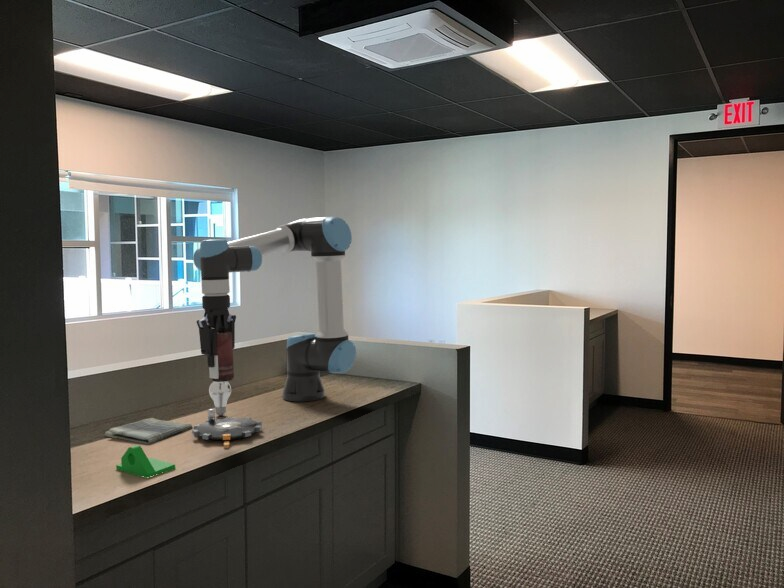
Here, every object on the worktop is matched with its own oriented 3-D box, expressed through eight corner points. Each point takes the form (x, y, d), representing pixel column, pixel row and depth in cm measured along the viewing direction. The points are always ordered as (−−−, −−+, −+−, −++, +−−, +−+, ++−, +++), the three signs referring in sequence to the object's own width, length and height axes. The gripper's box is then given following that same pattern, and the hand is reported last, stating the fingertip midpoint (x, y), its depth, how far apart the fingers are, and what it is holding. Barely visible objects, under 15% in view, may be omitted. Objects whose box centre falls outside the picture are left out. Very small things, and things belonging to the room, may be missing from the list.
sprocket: (209, 420, 190) (209, 404, 190) (271, 421, 188) (271, 406, 188) (180, 438, 171) (179, 422, 171) (248, 441, 169) (248, 424, 168)
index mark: (224, 445, 170) (224, 441, 169) (229, 444, 170) (229, 441, 170) (223, 448, 167) (223, 444, 167) (229, 447, 167) (229, 444, 167)
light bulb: (208, 414, 202) (207, 378, 201) (230, 412, 205) (229, 376, 204) (211, 419, 196) (210, 382, 195) (233, 417, 198) (232, 380, 198)
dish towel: (194, 429, 187) (194, 419, 186) (149, 446, 170) (148, 435, 170) (148, 423, 194) (148, 412, 194) (100, 438, 178) (100, 427, 178)
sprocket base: (247, 426, 187) (247, 423, 187) (251, 438, 176) (251, 434, 176) (205, 430, 183) (205, 427, 183) (206, 442, 172) (206, 438, 172)
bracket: (175, 469, 151) (174, 442, 151) (148, 480, 145) (146, 451, 144) (144, 461, 158) (143, 435, 157) (116, 470, 151) (115, 443, 150)
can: (207, 382, 175) (205, 333, 174) (218, 377, 181) (215, 329, 180) (227, 382, 174) (225, 333, 172) (237, 377, 180) (235, 329, 179)
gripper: (226, 291, 183) (229, 370, 185) (183, 296, 169) (187, 381, 171) (245, 292, 180) (249, 372, 182) (204, 297, 165) (208, 384, 167)
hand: (219, 376), depth 176 cm, fingers open, 3 cm apart
